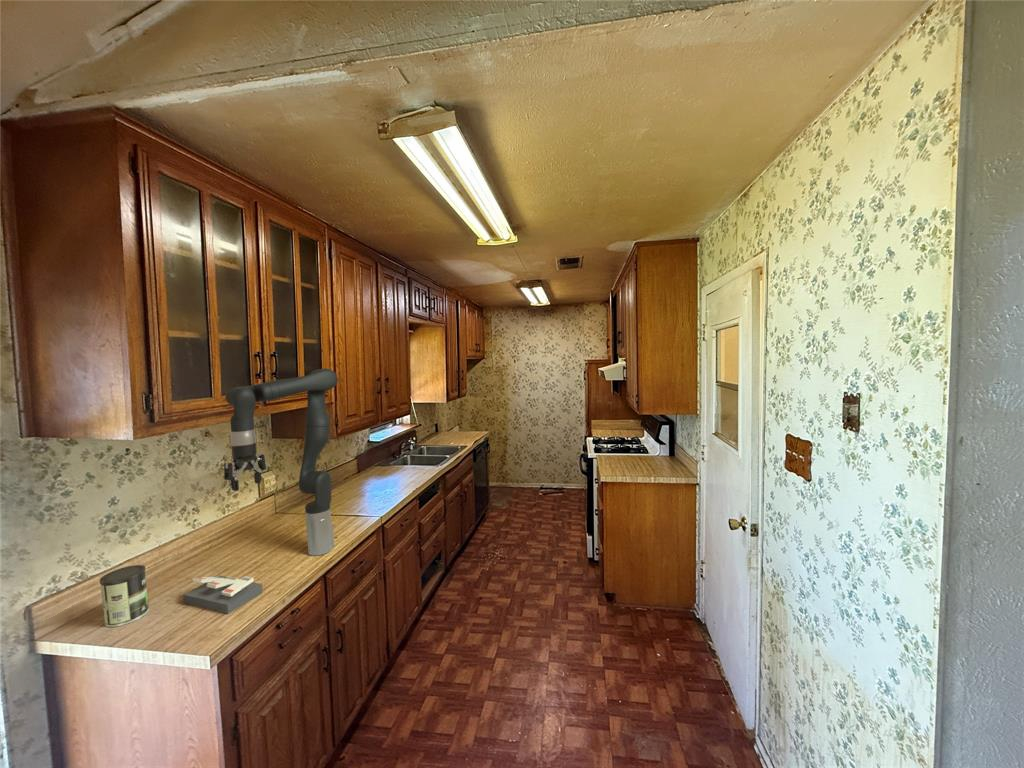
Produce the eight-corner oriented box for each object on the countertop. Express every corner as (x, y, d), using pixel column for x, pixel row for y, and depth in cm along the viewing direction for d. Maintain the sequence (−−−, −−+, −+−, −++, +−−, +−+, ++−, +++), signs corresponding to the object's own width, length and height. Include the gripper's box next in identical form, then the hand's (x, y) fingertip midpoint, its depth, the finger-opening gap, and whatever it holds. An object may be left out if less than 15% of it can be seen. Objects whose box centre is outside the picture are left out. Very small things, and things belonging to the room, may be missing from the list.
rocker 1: (214, 580, 143) (215, 576, 143) (223, 582, 141) (225, 577, 142) (191, 581, 136) (192, 577, 136) (201, 583, 134) (202, 579, 134)
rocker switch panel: (220, 583, 145) (219, 575, 145) (262, 592, 139) (262, 584, 139) (183, 603, 134) (183, 594, 134) (228, 614, 128) (227, 604, 127)
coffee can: (146, 602, 135) (142, 561, 134) (151, 615, 128) (147, 571, 127) (102, 618, 127) (98, 574, 126) (105, 632, 120) (100, 586, 119)
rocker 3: (244, 579, 138) (243, 575, 138) (254, 581, 137) (253, 578, 137) (221, 595, 131) (220, 591, 131) (231, 597, 129) (231, 593, 129)
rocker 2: (229, 580, 141) (230, 576, 141) (239, 582, 139) (239, 578, 139) (205, 587, 133) (206, 582, 133) (215, 589, 132) (216, 585, 132)
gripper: (254, 438, 155) (257, 480, 157) (216, 446, 142) (220, 492, 143) (269, 439, 153) (272, 481, 154) (232, 447, 140) (235, 493, 141)
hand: (247, 486), depth 149 cm, fingers open, 8 cm apart
